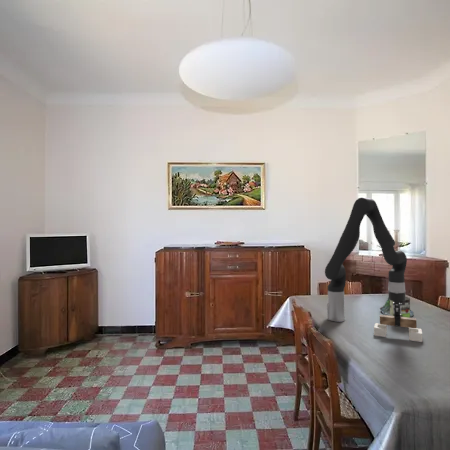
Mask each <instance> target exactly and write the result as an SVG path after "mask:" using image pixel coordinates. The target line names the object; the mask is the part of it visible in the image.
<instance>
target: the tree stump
mask: <svg viewBox="0 0 450 450" xmlns="http://www.w3.org/2000/svg"><path fill="white" fill-rule="evenodd" d="M379 309H380V311H381V313H382V315H389V316H390V300H389V295H388V298H387V300H386V301H385V303H384V305H382V306H380V307H379ZM413 317H414V311H413V310H411V309H410V318H413Z"/></svg>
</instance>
